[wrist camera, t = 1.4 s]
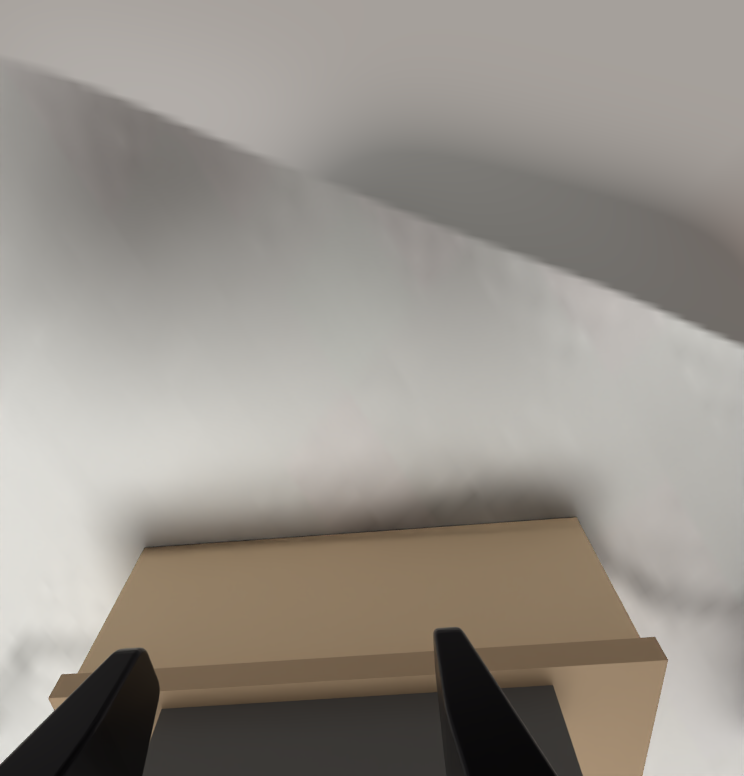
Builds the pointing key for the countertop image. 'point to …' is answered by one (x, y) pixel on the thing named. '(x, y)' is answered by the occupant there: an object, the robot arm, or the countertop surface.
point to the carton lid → (398, 711)
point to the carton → (363, 595)
